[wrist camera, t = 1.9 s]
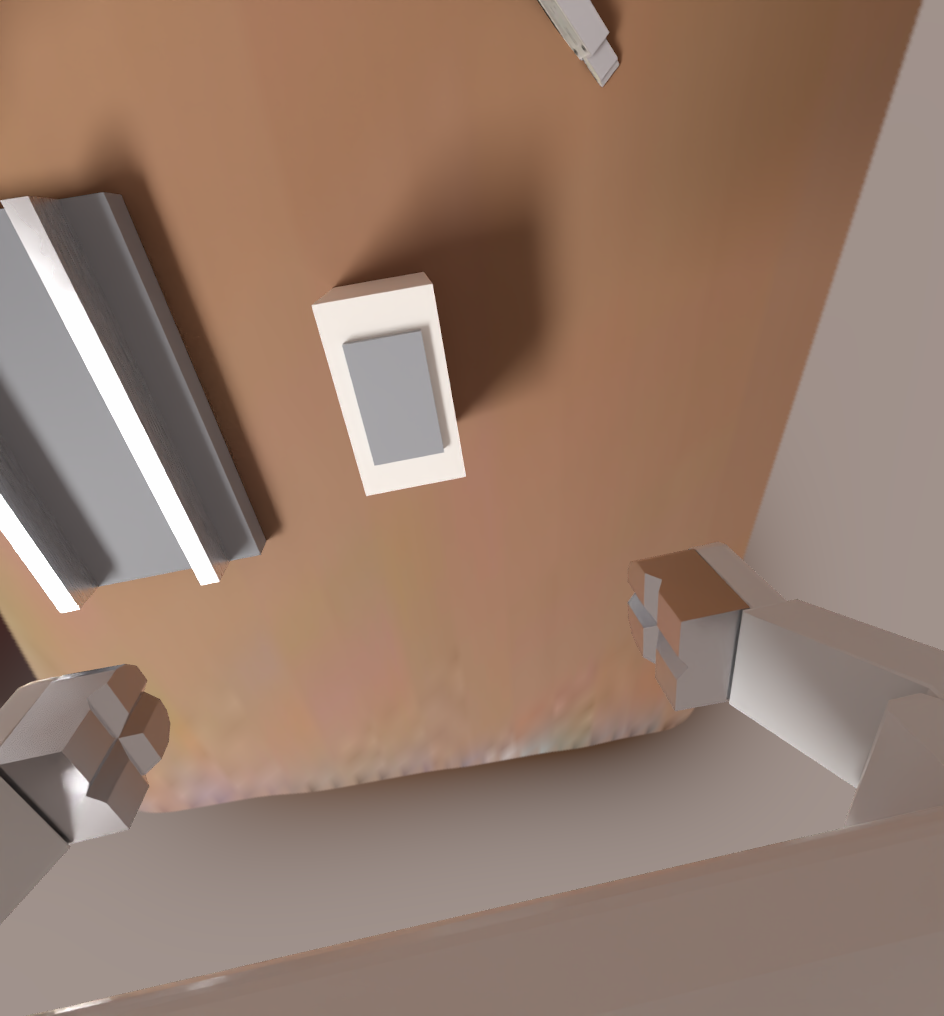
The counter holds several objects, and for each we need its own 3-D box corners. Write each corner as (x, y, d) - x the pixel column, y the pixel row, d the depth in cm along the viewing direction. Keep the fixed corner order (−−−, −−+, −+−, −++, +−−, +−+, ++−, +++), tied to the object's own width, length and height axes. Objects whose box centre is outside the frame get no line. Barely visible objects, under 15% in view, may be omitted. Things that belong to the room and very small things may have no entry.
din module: (332, 287, 25) (310, 306, 18) (423, 271, 25) (433, 284, 18) (372, 439, 28) (365, 500, 22) (451, 425, 29) (467, 480, 22)
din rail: (-158, 235, 20) (-211, 235, 18) (59, 199, 20) (27, 195, 19) (81, 589, 29) (60, 612, 27) (230, 560, 29) (219, 581, 27)
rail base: (-167, 242, 21) (-204, 242, 20) (120, 194, 22) (103, 192, 20) (65, 580, 30) (50, 596, 29) (266, 540, 30) (260, 554, 29)
